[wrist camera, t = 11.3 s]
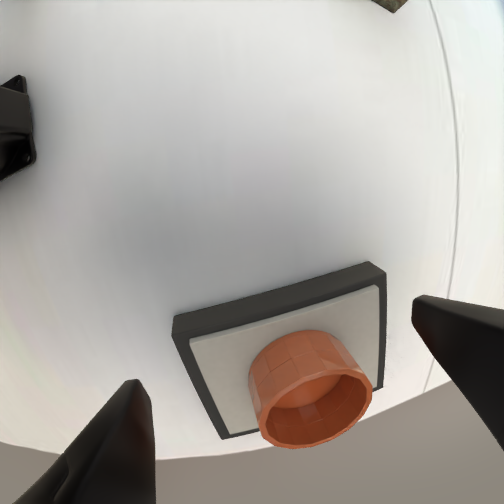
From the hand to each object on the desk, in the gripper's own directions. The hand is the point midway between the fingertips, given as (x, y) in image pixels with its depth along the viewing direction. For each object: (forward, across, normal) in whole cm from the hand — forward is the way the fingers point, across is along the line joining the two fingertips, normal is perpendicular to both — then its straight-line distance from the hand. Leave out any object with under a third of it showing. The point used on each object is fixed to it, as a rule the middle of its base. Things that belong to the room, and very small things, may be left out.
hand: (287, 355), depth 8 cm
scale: (+11, -2, +9) cm, 14 cm away
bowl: (+8, -2, +8) cm, 11 cm away
